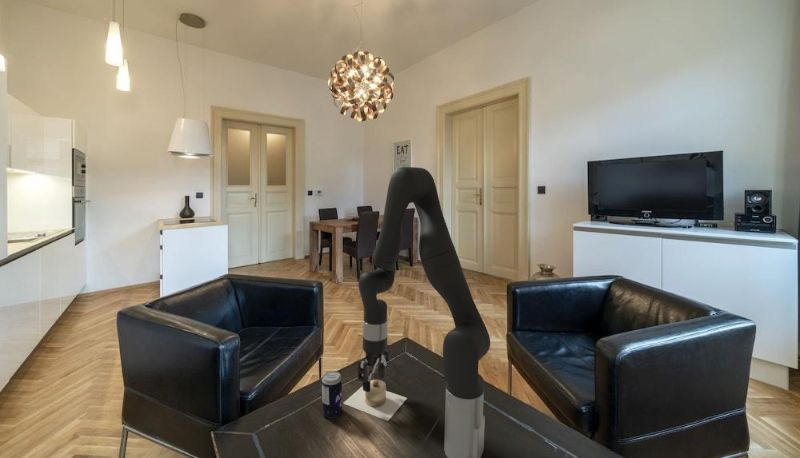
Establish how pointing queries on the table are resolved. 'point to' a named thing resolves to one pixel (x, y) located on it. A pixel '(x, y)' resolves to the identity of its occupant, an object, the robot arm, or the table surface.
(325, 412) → the beverage can
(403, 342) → the table surface
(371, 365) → the robot arm
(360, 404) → the mat
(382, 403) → the lid
